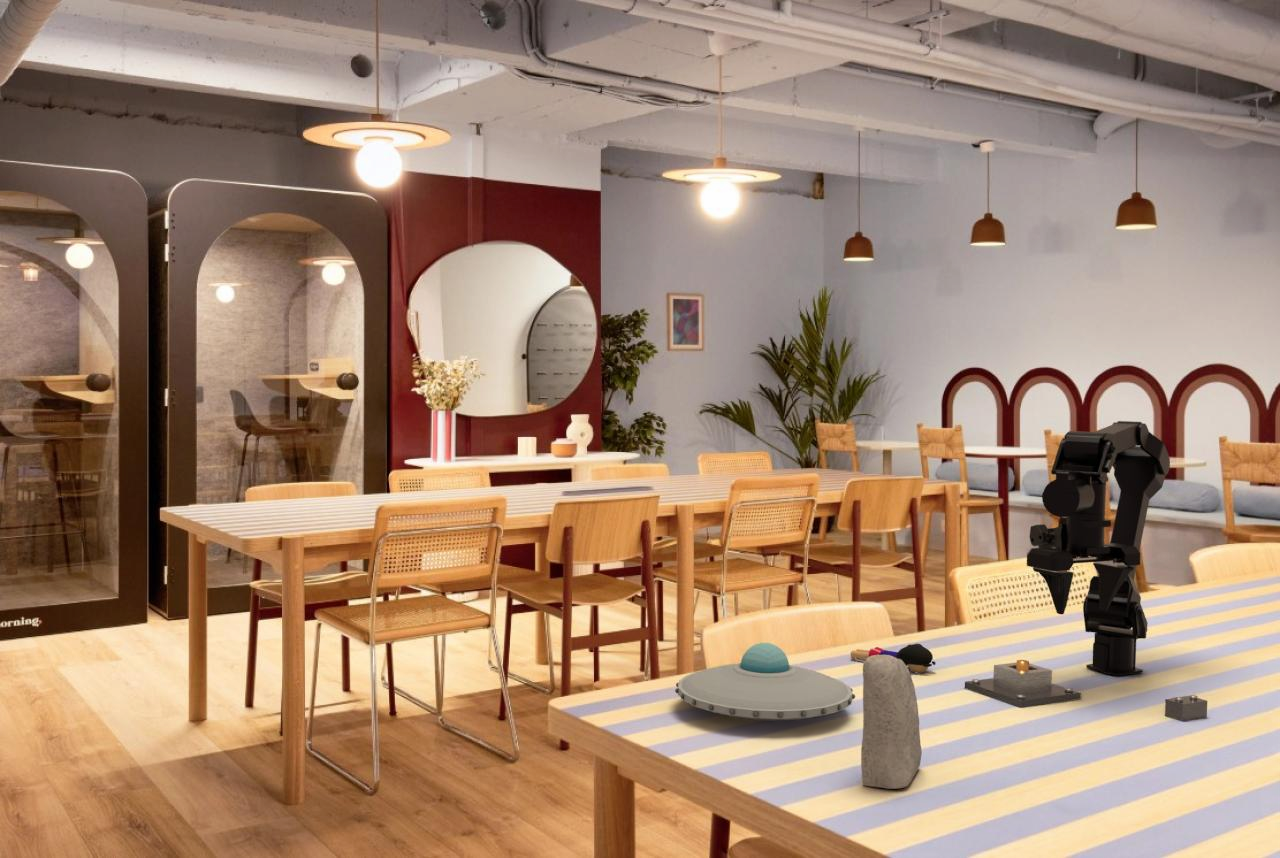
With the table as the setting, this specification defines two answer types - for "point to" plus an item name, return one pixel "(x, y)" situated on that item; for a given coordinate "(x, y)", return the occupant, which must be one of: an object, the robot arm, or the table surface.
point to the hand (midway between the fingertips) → (1082, 611)
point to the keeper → (1024, 699)
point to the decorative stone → (889, 724)
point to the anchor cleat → (1186, 708)
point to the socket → (1022, 678)
